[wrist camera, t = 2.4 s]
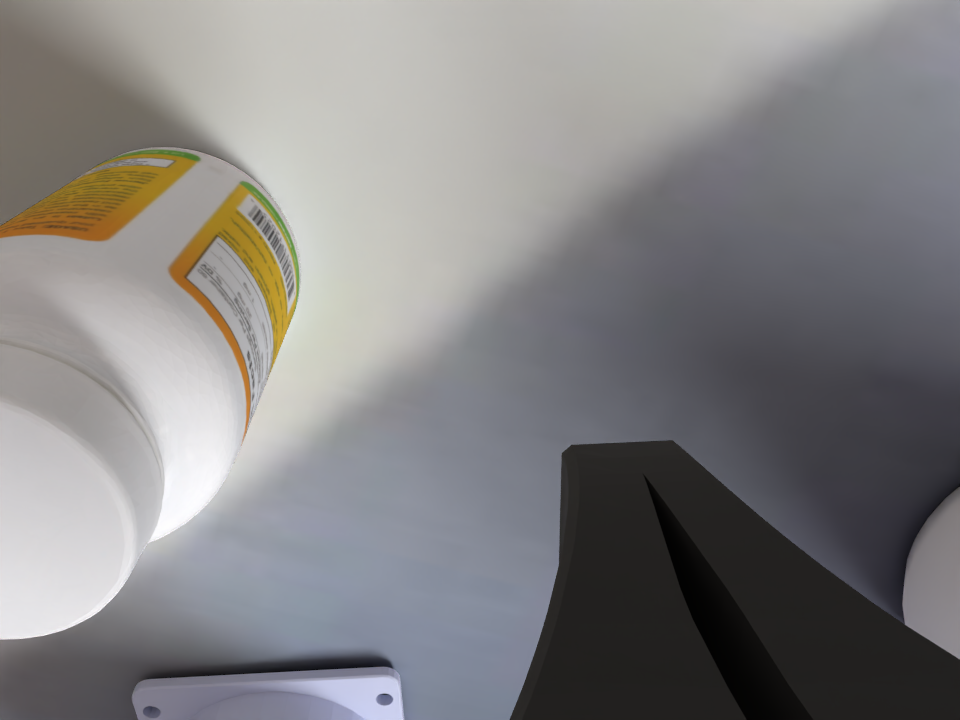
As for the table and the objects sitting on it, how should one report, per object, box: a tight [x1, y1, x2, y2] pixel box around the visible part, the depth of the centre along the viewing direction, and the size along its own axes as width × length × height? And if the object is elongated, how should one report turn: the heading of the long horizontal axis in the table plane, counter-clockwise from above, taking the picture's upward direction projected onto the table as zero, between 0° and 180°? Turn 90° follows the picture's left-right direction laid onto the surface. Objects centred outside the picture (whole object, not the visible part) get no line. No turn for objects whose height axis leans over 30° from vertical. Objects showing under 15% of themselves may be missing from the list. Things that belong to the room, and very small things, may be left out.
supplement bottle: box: [0, 147, 301, 639], centre depth 14 cm, size 5×5×10 cm
